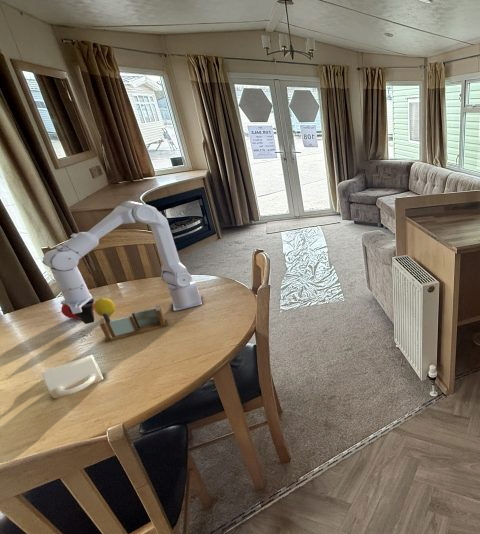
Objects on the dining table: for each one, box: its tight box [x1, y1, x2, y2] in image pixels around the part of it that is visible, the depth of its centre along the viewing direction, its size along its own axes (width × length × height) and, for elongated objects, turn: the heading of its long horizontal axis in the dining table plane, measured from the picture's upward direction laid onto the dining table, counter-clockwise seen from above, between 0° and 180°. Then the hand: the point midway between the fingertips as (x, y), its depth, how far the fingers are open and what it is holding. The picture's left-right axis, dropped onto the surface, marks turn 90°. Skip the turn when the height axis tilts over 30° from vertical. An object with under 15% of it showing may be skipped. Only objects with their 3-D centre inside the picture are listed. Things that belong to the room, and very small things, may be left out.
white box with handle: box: [41, 354, 104, 399], centre depth 94 cm, size 12×10×8 cm
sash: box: [102, 313, 138, 337], centre depth 117 cm, size 7×1×9 cm, turn 128°
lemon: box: [94, 297, 116, 318], centre depth 128 cm, size 6×6×8 cm
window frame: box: [99, 305, 166, 342], centre depth 121 cm, size 16×4×7 cm, turn 128°
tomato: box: [60, 301, 95, 319], centre depth 128 cm, size 9×9×8 cm
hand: (89, 322), depth 112 cm, fingers closed
